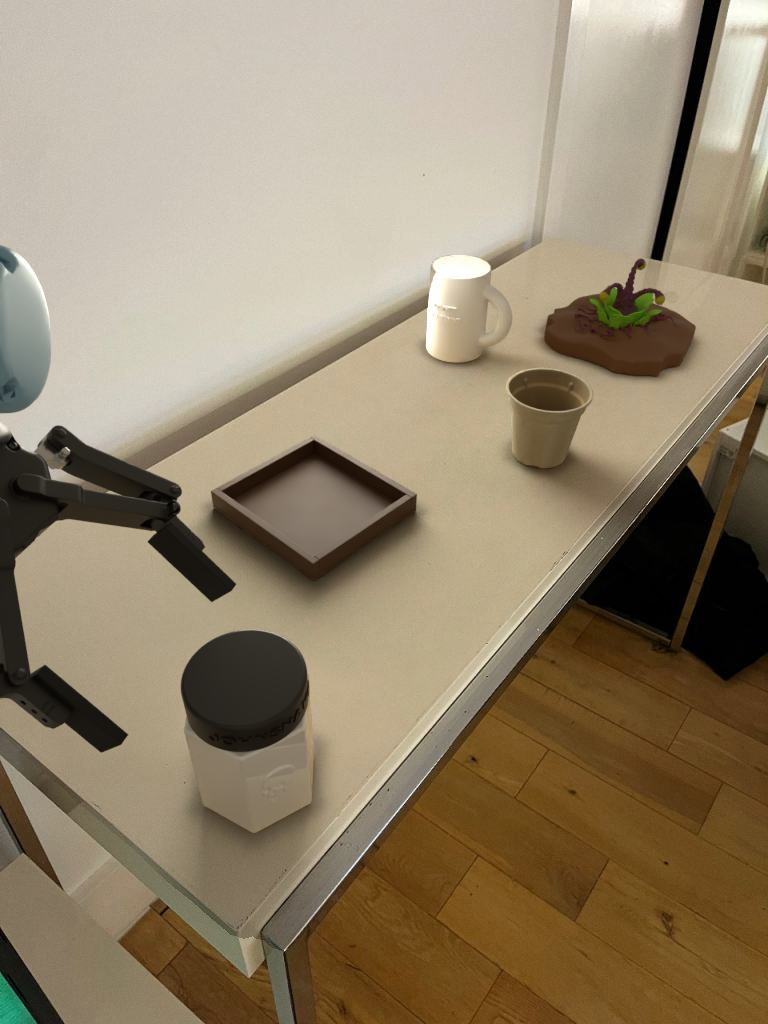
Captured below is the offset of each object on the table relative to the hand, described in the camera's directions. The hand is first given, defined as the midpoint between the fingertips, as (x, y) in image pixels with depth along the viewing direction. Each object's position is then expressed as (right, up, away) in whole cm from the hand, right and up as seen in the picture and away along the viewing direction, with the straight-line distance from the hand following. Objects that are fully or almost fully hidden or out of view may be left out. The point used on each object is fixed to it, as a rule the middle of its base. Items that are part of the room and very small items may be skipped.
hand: (175, 662), depth 52 cm
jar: (+5, -10, +5) cm, 12 cm away
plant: (+48, +35, +60) cm, 85 cm away
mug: (+26, +32, +56) cm, 70 cm away
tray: (+7, +10, +29) cm, 32 cm away
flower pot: (+32, +17, +38) cm, 52 cm away
